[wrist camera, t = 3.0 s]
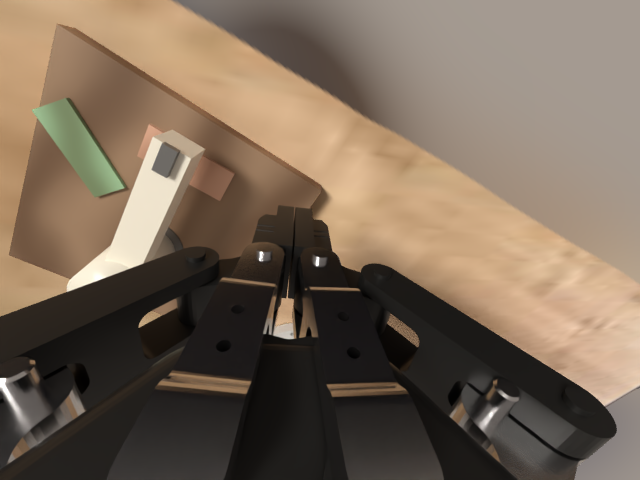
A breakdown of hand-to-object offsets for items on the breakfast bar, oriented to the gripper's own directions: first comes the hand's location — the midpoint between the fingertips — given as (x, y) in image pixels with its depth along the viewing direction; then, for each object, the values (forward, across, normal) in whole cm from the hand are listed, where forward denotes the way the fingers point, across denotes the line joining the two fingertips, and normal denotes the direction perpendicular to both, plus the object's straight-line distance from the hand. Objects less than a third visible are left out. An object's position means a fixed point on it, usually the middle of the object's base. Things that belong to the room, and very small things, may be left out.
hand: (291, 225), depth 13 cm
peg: (+9, +9, +4) cm, 13 cm away
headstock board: (+10, +10, +6) cm, 15 cm away
